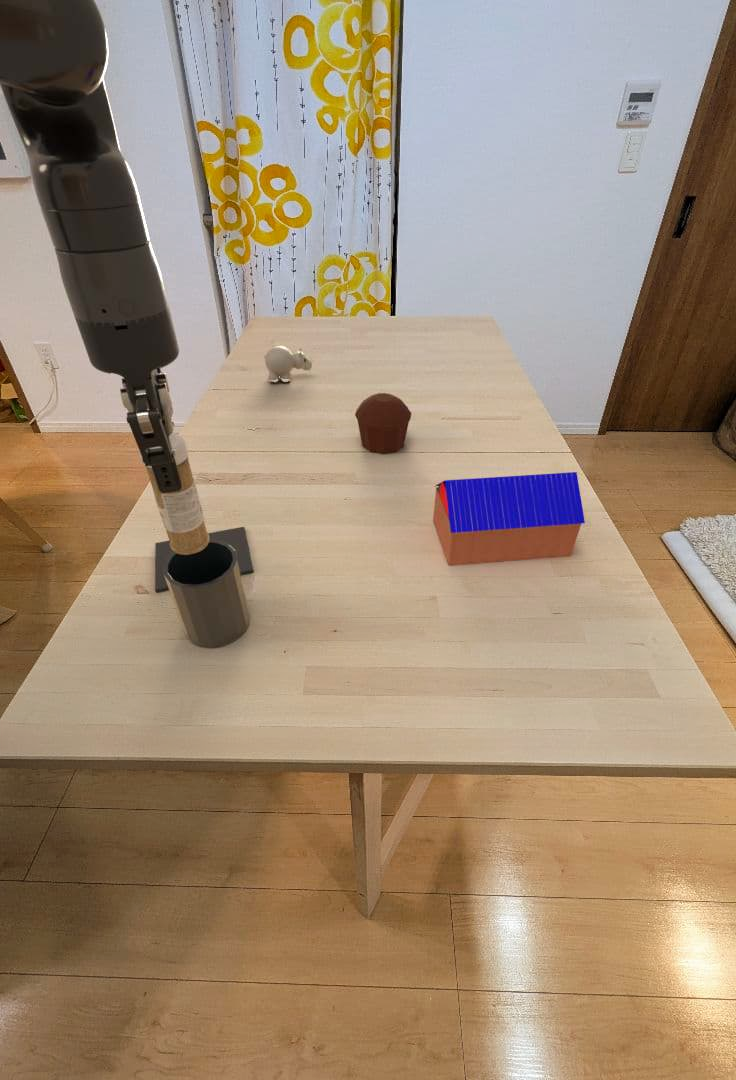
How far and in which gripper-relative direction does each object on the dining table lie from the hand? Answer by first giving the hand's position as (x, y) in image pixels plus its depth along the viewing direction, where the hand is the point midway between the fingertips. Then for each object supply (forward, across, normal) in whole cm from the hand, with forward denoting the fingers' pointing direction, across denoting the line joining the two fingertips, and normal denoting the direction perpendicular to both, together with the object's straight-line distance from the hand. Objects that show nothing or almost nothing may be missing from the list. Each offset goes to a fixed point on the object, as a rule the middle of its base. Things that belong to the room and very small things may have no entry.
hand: (170, 476), depth 54 cm
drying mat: (+24, -14, -1) cm, 28 cm away
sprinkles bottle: (+10, 0, 0) cm, 10 cm away
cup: (+24, 0, 0) cm, 24 cm away
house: (+24, -6, +45) cm, 52 cm away
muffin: (+24, -41, +37) cm, 60 cm away
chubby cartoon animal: (+24, -80, +25) cm, 87 cm away
